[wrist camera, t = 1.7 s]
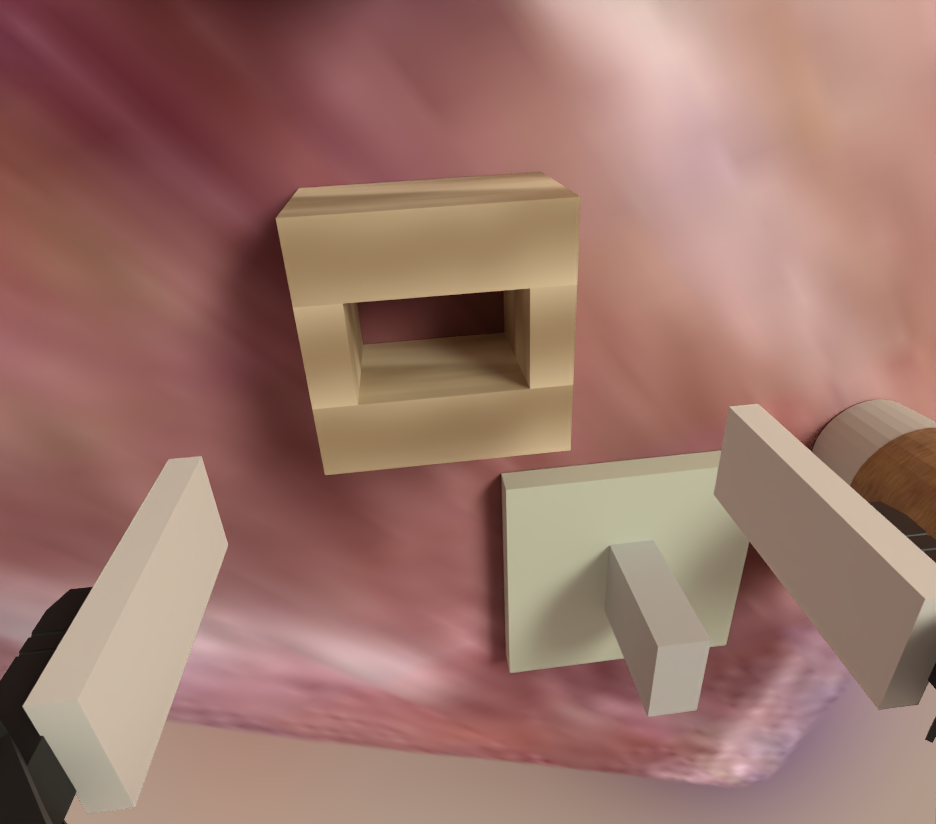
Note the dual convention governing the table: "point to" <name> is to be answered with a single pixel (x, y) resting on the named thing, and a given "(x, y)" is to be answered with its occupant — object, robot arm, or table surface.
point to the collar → (440, 359)
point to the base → (579, 543)
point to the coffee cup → (885, 457)
